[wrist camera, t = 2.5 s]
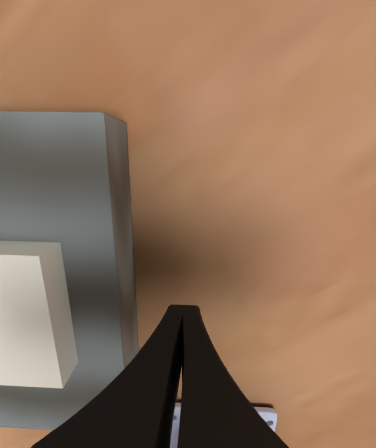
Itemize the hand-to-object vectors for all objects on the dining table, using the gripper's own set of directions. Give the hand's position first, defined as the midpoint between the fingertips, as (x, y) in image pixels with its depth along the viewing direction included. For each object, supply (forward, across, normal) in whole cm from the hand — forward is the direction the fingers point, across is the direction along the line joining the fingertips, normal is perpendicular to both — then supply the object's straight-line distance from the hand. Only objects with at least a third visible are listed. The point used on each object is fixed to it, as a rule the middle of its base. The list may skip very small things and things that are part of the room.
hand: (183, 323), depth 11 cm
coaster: (+1, +9, 0) cm, 9 cm away
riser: (+4, +9, 0) cm, 10 cm away
